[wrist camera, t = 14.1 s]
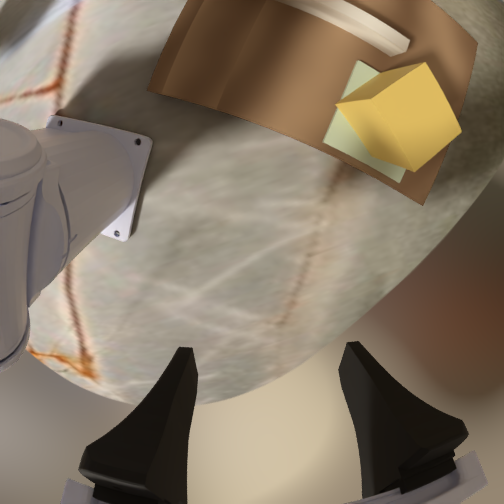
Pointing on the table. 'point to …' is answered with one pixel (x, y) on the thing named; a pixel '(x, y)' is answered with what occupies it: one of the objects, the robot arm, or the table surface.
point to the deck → (310, 63)
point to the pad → (346, 137)
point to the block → (401, 116)
